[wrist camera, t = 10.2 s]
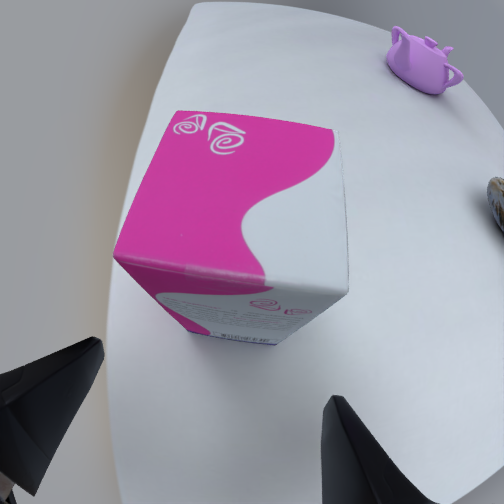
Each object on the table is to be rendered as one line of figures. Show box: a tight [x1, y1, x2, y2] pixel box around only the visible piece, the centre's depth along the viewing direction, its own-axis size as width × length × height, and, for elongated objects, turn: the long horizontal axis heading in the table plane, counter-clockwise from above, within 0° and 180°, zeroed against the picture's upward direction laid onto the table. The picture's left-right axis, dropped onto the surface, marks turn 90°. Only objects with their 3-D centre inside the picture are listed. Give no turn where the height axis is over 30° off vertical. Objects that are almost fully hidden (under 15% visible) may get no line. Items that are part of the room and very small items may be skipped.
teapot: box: [387, 26, 463, 94], centre depth 29 cm, size 12×14×9 cm
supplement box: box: [113, 111, 349, 345], centre depth 12 cm, size 6×6×12 cm
